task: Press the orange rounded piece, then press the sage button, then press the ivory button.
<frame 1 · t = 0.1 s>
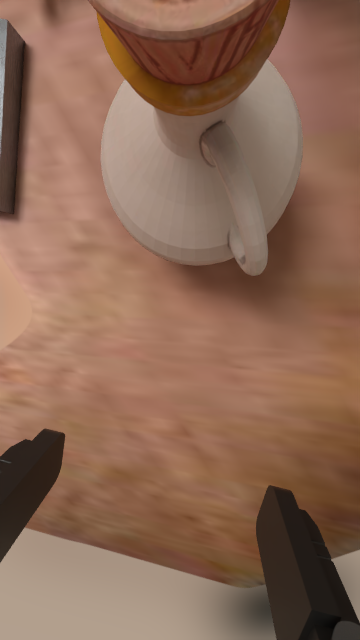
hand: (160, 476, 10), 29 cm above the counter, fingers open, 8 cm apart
jug: (202, 204, 35), on the counter
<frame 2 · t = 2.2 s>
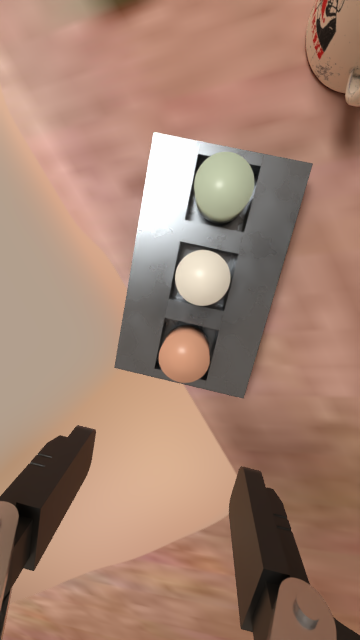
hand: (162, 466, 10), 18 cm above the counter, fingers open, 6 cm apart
panel: (202, 275, 26), on the counter
orange rounded piece: (185, 352, 24), point 4 cm above the counter, slide at 0.0 cm
teacup with lid: (351, 57, 22), on the counter
ivory button: (202, 277, 22), point 4 cm above the counter, slide at 0.0 cm
sage button: (222, 191, 21), point 4 cm above the counter, slide at 0.0 cm
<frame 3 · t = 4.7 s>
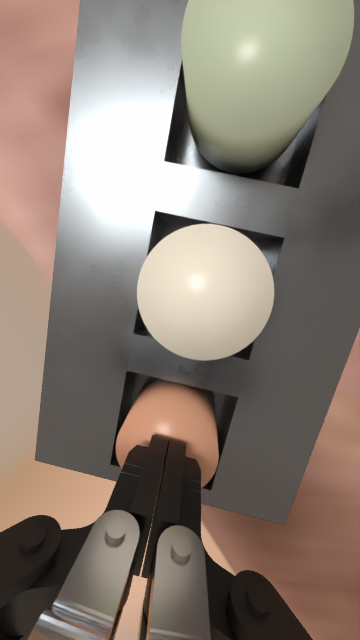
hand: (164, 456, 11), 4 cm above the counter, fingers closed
panel: (204, 283, 14), on the counter
orange rounded piece: (171, 428, 13), point 3 cm above the counter, slide at 1.1 cm, touching gripper
ivory button: (203, 290, 10), point 4 cm above the counter, slide at 0.0 cm
sage button: (252, 81, 8), point 4 cm above the counter, slide at 0.0 cm
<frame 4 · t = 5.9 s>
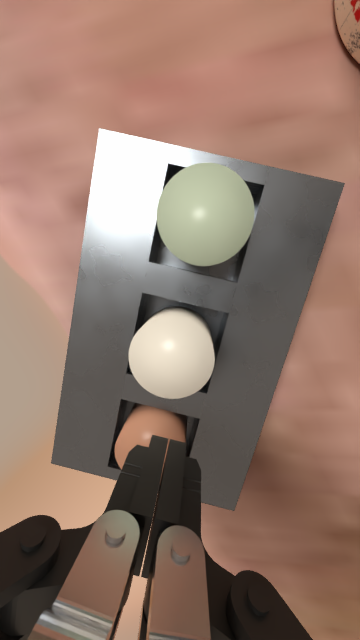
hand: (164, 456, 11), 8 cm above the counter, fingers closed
panel: (179, 332, 19), on the counter
orange rounded piece: (154, 436, 18), point 2 cm above the counter, slide at 1.5 cm
ivory button: (174, 348, 15), point 4 cm above the counter, slide at 0.0 cm
sage button: (204, 222, 13), point 4 cm above the counter, slide at 0.0 cm
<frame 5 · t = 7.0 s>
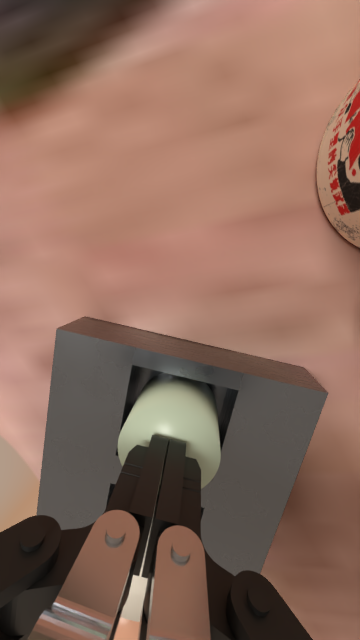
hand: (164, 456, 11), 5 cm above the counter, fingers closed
panel: (157, 487, 17), on the counter
orange rounded piece: (131, 603, 17), point 2 cm above the counter, slide at 1.5 cm
ivory button: (145, 547, 14), point 4 cm above the counter, slide at 0.0 cm
sage button: (173, 427, 13), point 3 cm above the counter, slide at 0.5 cm, touching gripper
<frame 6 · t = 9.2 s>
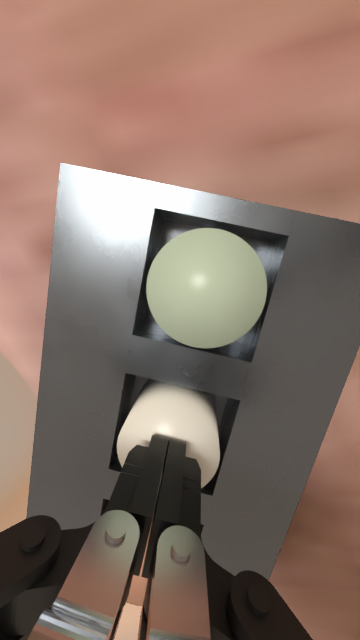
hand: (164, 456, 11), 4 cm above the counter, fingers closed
panel: (177, 403, 15), on the counter
orange rounded piece: (147, 535, 14), point 2 cm above the counter, slide at 1.5 cm
ivory button: (172, 427, 13), point 2 cm above the counter, slide at 1.4 cm, touching gripper
sage button: (205, 286, 11), point 2 cm above the counter, slide at 1.5 cm
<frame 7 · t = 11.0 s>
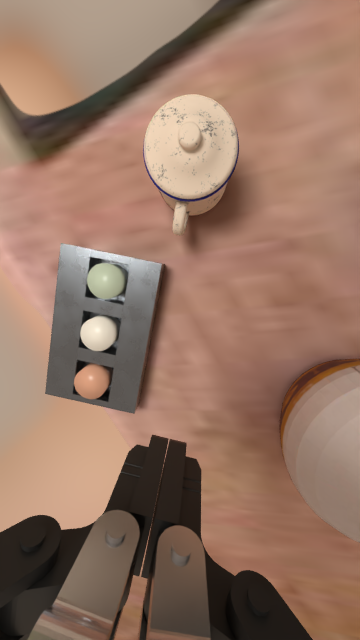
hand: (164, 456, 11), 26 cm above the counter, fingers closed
panel: (107, 328, 37), on the counter
orange rounded piece: (95, 378, 37), point 2 cm above the counter, slide at 1.5 cm
jug: (324, 401, 38), on the counter
teacup with lid: (190, 192, 33), on the counter
ivory button: (101, 331, 35), point 2 cm above the counter, slide at 1.5 cm
sage button: (109, 280, 34), point 2 cm above the counter, slide at 1.5 cm
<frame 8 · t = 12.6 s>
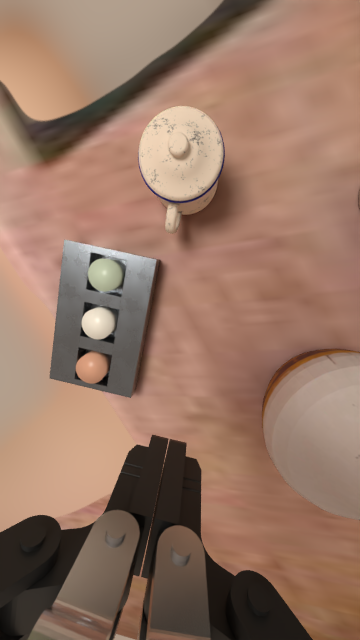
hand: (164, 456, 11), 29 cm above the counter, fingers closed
panel: (106, 318, 40), on the counter
orange rounded piece: (95, 365, 40), point 2 cm above the counter, slide at 1.5 cm
jug: (308, 390, 40), on the counter
teacup with lid: (183, 193, 36), on the counter
ivory button: (101, 321, 38), point 2 cm above the counter, slide at 1.5 cm
sage button: (108, 274, 37), point 2 cm above the counter, slide at 1.5 cm
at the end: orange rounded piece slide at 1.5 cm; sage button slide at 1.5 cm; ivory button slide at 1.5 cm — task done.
